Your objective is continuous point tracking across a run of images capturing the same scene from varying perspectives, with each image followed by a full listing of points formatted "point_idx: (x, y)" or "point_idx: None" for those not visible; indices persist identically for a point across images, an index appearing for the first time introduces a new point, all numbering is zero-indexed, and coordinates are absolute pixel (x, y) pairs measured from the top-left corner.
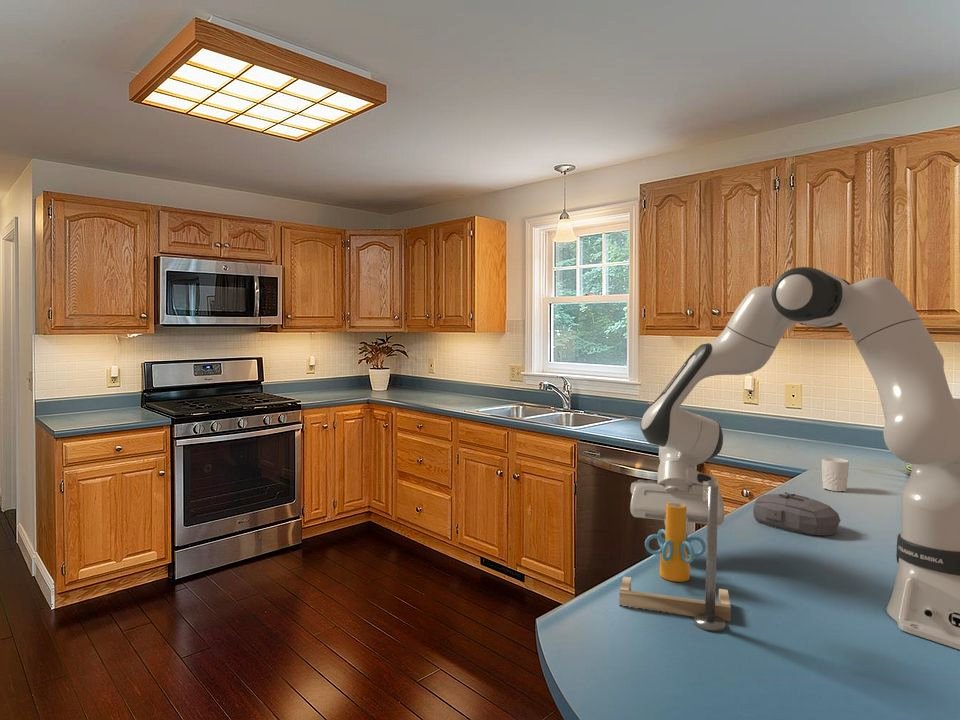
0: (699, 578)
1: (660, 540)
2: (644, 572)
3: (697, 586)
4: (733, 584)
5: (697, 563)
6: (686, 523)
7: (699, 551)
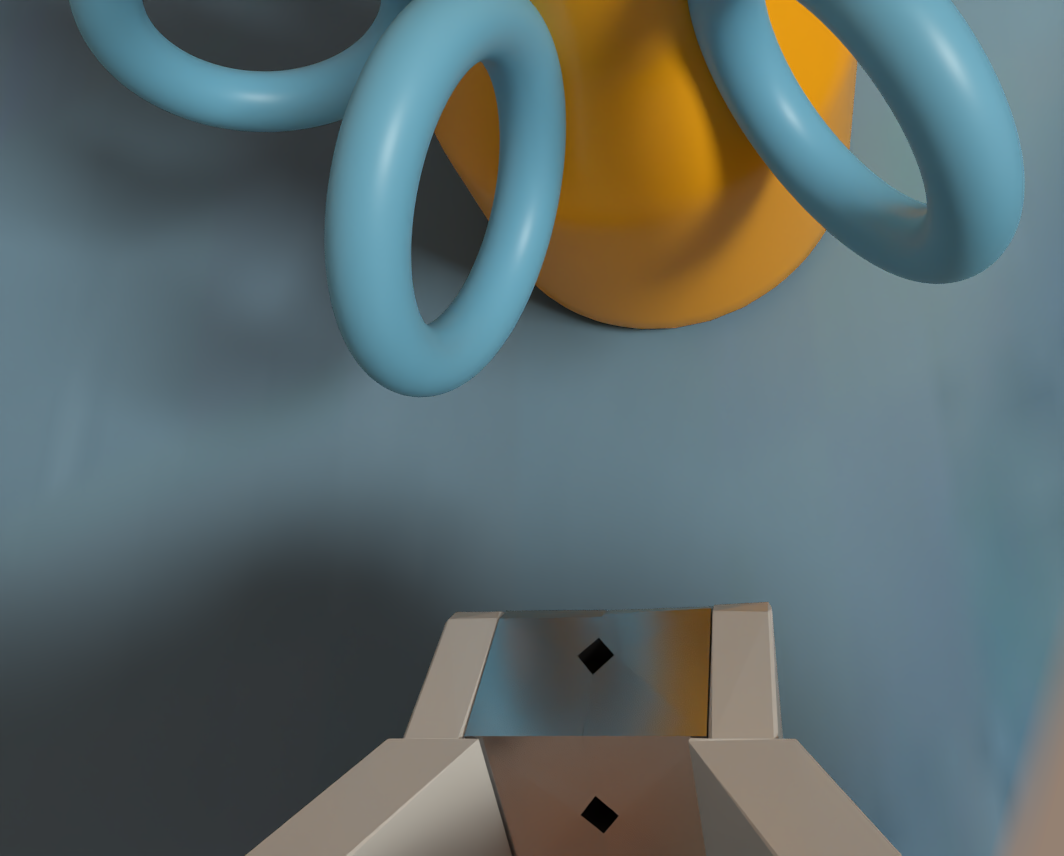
0: None
1: (919, 209)
2: (1053, 144)
3: None
4: (98, 245)
5: None
6: (253, 852)
7: (243, 78)
